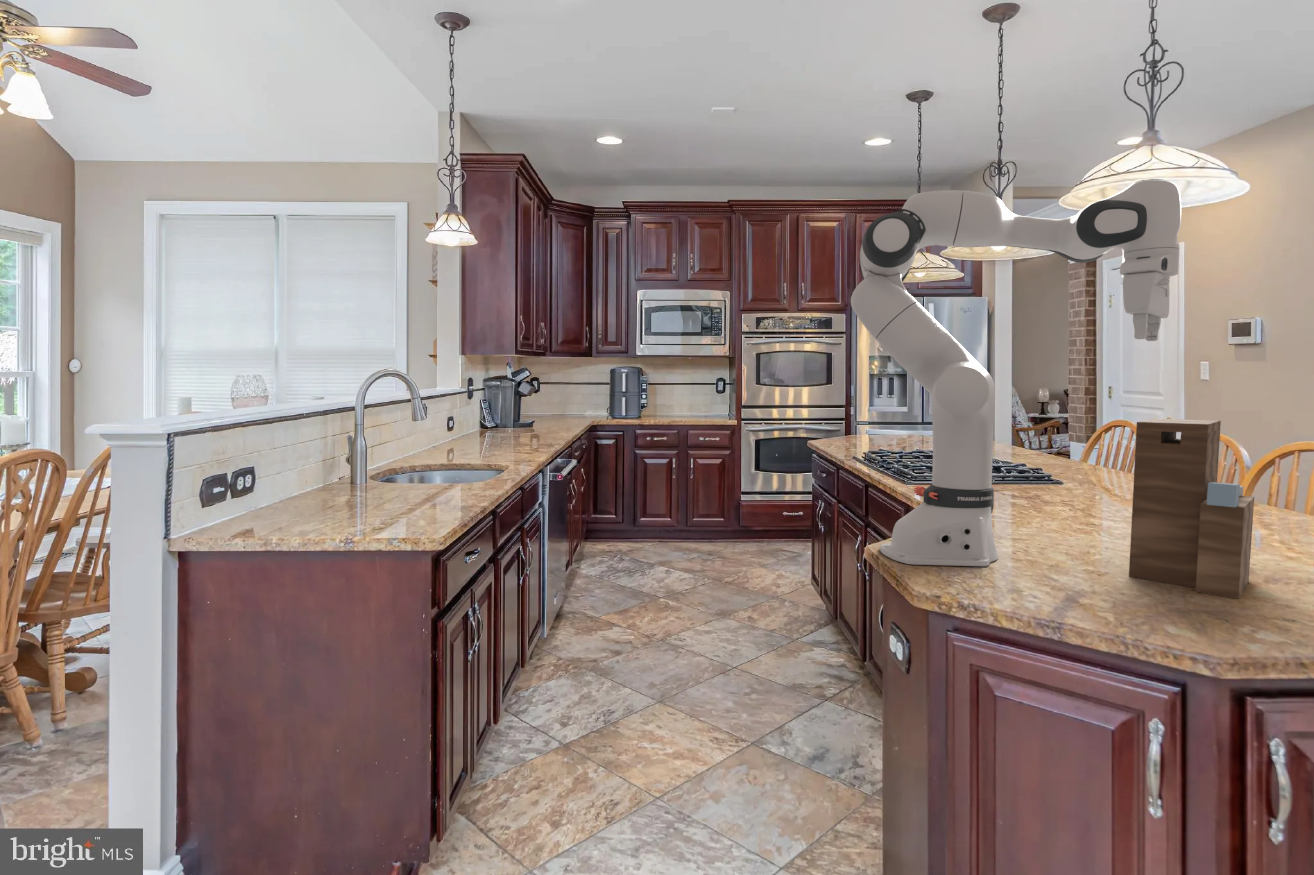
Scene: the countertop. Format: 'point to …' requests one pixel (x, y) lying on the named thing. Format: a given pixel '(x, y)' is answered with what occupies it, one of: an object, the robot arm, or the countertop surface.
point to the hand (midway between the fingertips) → (1146, 340)
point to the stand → (1186, 511)
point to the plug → (1224, 494)
